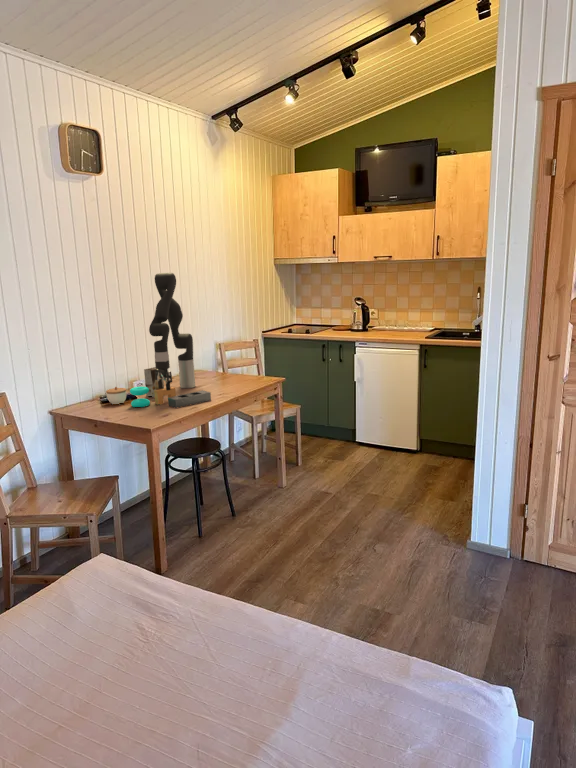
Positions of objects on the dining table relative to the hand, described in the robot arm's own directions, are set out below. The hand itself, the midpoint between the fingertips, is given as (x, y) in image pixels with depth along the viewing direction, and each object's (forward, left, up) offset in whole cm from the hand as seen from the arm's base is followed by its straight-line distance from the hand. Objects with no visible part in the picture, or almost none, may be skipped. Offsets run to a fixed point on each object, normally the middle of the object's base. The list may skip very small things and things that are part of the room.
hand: (164, 389), depth 296 cm
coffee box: (-21, +5, -8) cm, 23 cm away
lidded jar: (-20, -19, -8) cm, 29 cm away
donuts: (-4, -13, -8) cm, 16 cm away
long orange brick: (0, 0, -8) cm, 8 cm away
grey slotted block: (+12, +8, -8) cm, 16 cm away
